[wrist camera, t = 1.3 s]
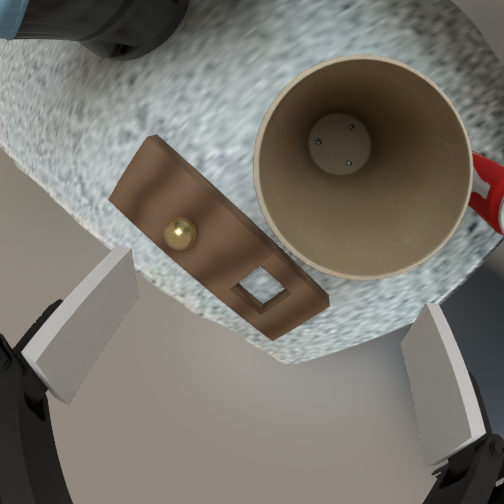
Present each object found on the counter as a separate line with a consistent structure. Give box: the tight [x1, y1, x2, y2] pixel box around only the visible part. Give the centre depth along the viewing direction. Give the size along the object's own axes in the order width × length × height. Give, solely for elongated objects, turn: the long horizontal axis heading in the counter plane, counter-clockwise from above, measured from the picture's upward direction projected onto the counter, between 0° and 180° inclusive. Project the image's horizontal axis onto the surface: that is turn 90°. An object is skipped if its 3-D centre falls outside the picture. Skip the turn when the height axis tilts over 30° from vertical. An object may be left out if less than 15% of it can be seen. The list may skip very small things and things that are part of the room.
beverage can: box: [468, 151, 504, 235], centre depth 20 cm, size 6×6×15 cm
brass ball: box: [164, 216, 197, 250], centre depth 32 cm, size 4×4×4 cm
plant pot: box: [253, 55, 473, 281], centre depth 21 cm, size 15×15×16 cm
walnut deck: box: [108, 135, 330, 341], centre depth 36 cm, size 32×11×2 cm, turn 47°
